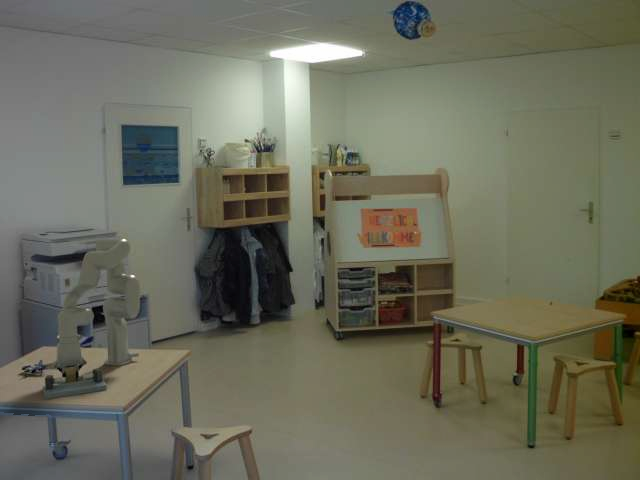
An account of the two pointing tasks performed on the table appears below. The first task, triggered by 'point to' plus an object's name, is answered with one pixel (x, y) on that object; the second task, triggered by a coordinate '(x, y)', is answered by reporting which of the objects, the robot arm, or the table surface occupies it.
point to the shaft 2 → (94, 375)
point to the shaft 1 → (53, 381)
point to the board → (74, 388)
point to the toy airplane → (34, 368)
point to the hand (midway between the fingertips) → (70, 380)
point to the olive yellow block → (70, 373)
